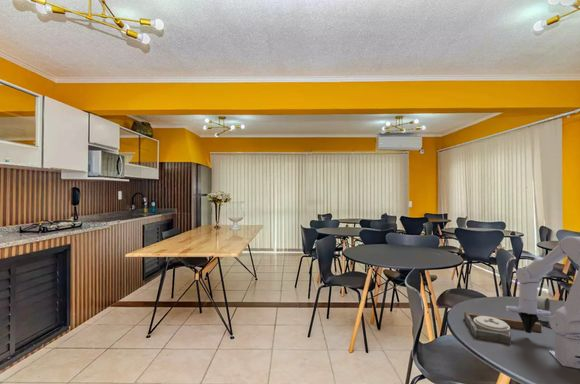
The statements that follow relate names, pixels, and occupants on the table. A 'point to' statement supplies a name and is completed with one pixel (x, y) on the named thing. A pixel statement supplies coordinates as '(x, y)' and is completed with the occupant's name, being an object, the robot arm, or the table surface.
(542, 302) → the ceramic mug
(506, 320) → the u-shaped bar frame
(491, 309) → the table surface
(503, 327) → the lid
